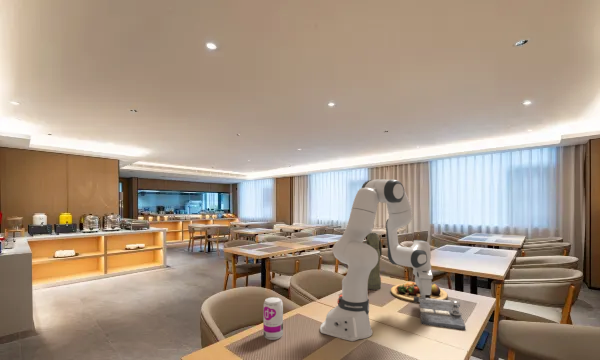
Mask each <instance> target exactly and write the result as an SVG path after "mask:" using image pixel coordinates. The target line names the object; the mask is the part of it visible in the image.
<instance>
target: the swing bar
mask: <svg viewBox="0 0 600 360" xmlns="http://www.w3.org/2000/svg"><path fill="white" fill-rule="evenodd" d="M414 302H424V303H433V304H442V305H450V306H454V307H459V308H461V301H459V300H457V299H456V300H455V299H452V300H449V299H447V300H440V299H431V298H422V297H415V296H414Z"/></svg>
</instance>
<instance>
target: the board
mask: <svg viewBox="0 0 600 360" xmlns="http://www.w3.org/2000/svg"><path fill="white" fill-rule="evenodd" d="M419 312H420V314H419V315H420V323H421V325H425V326H433V327H440V328H447V329H448V328H449V329H454V330H455V329H456V330H461V331H466V325H465V322H464V320H463V317H462V315H463V313H462V312H461V311H460V307H454V306H450V305H442V304H433V303H424V302H420V304H419Z"/></svg>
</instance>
